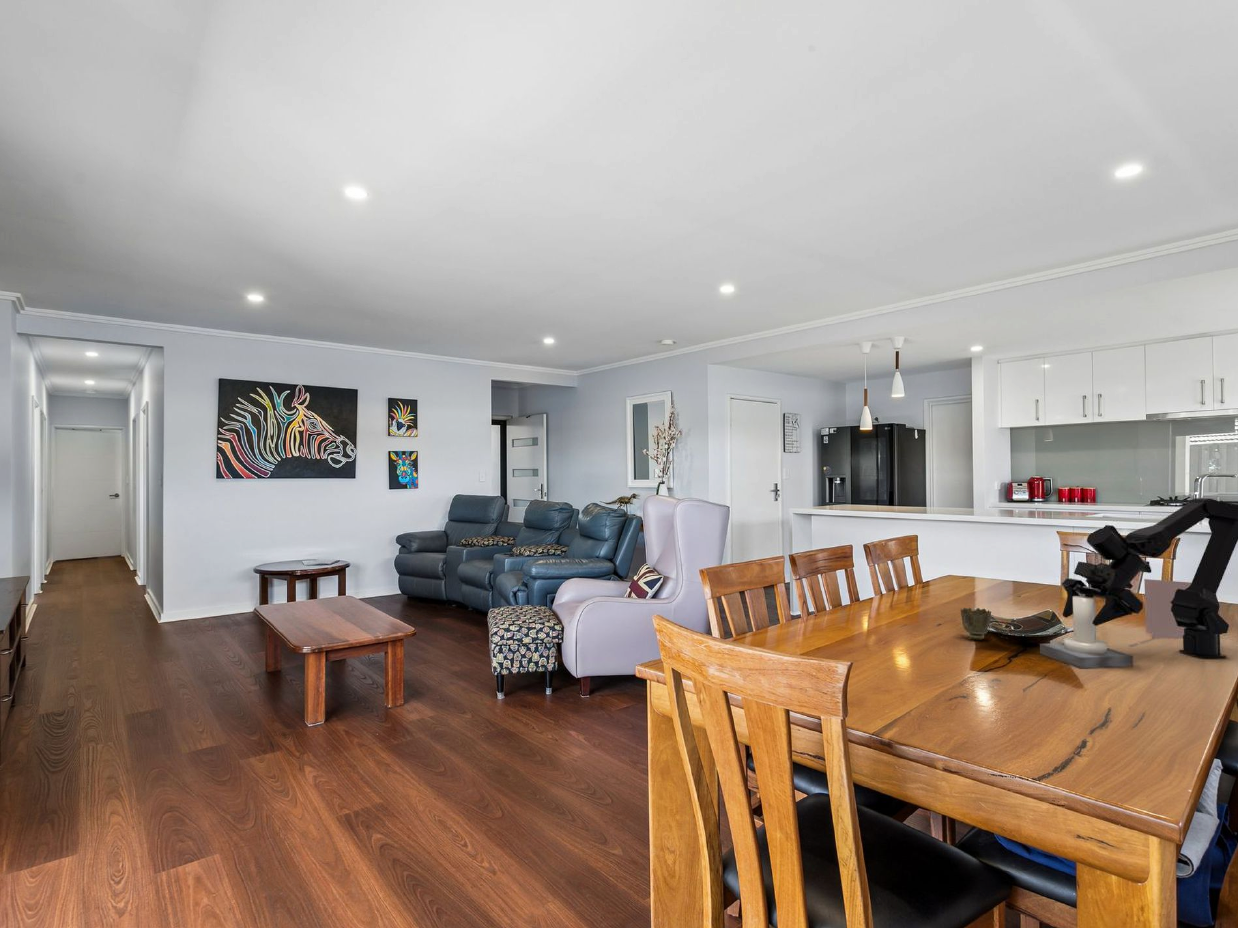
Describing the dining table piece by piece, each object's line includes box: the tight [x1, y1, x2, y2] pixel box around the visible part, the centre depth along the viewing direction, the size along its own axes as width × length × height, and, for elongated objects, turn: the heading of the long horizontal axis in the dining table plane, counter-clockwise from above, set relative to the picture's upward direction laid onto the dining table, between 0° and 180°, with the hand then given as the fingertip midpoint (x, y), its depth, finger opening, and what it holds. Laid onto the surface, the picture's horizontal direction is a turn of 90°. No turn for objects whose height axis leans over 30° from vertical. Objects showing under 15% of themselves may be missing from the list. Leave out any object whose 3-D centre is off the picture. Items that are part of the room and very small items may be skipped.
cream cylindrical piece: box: [1063, 596, 1108, 654], centre depth 161 cm, size 8×8×12 cm
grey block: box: [1039, 642, 1134, 669], centre depth 161 cm, size 13×13×2 cm
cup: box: [960, 607, 992, 641], centre depth 182 cm, size 8×7×8 cm
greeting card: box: [1144, 578, 1192, 639], centre depth 182 cm, size 11×7×15 cm, turn 46°
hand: (1078, 620), depth 161 cm, fingers open, 9 cm apart
